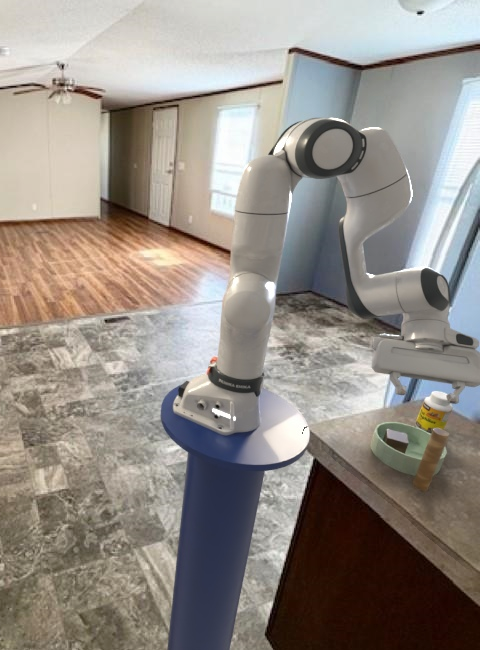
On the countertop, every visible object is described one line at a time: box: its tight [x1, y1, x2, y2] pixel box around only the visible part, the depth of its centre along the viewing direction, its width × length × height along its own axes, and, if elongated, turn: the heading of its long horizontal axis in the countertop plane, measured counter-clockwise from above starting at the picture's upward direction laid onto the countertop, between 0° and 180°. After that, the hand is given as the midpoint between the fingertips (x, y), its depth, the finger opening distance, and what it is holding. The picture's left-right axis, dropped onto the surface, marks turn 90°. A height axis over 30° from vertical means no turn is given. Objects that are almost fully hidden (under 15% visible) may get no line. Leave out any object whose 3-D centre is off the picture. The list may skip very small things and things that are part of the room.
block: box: [383, 429, 408, 454], centre depth 97 cm, size 4×4×4 cm
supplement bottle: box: [414, 390, 454, 434], centre depth 104 cm, size 6×6×10 cm
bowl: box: [370, 421, 448, 477], centre depth 96 cm, size 13×13×4 cm
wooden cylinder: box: [412, 428, 450, 492], centre depth 86 cm, size 3×3×14 cm
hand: (426, 398), depth 91 cm, fingers open, 8 cm apart
